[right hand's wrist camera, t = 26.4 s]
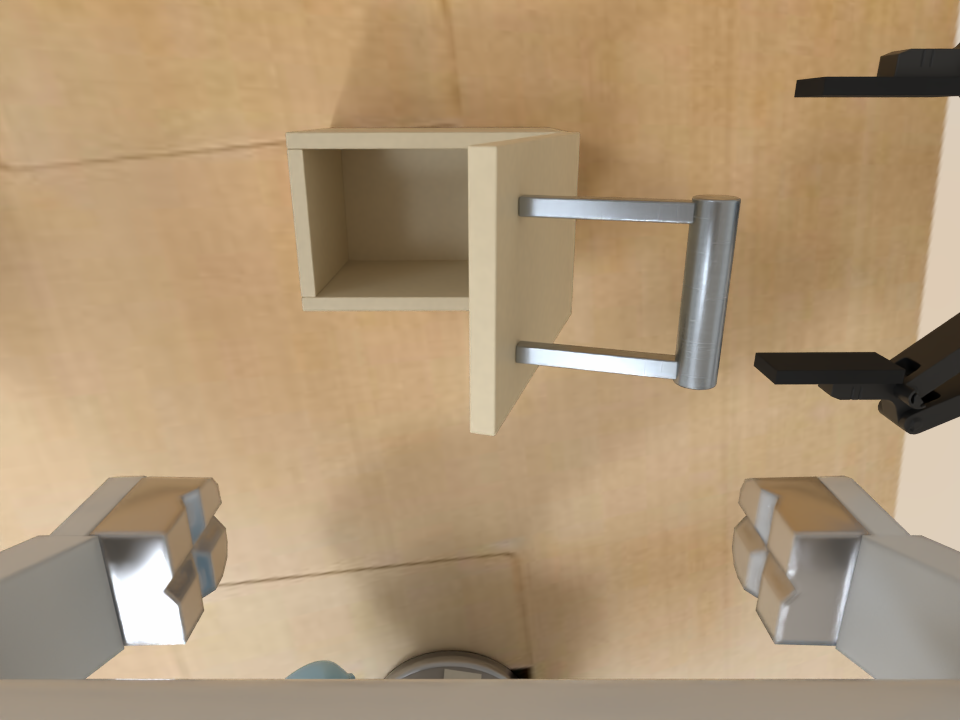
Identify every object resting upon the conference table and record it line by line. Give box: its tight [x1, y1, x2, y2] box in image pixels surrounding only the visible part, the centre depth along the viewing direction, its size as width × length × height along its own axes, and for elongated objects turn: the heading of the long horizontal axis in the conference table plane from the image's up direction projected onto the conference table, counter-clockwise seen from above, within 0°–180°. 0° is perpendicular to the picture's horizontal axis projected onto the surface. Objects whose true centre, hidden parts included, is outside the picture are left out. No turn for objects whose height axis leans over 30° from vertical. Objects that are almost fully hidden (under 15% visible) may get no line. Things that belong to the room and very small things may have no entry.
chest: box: [286, 128, 567, 311], centre depth 42 cm, size 15×10×11 cm, turn 90°
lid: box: [468, 132, 741, 436], centre depth 28 cm, size 16×10×8 cm
